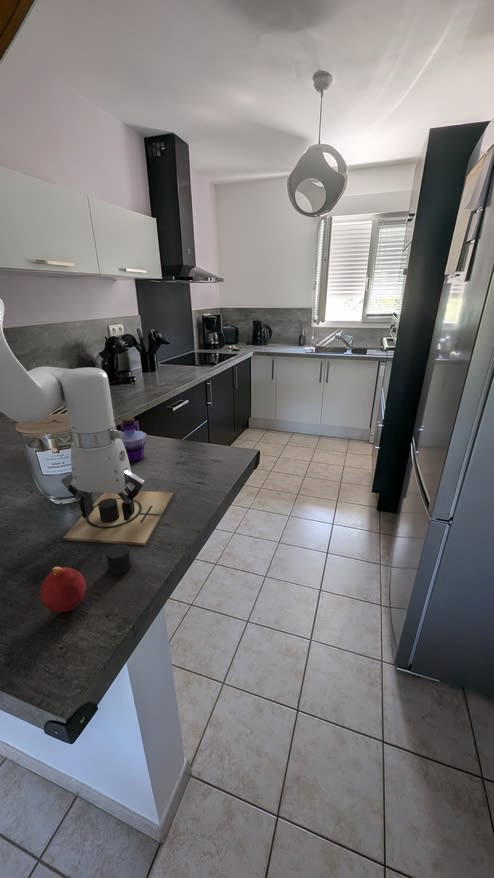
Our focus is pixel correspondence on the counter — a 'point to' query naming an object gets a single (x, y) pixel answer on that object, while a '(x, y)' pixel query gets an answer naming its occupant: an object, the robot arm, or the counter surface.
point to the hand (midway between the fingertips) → (108, 515)
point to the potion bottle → (133, 440)
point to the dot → (108, 510)
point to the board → (122, 520)
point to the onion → (62, 589)
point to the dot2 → (118, 559)
